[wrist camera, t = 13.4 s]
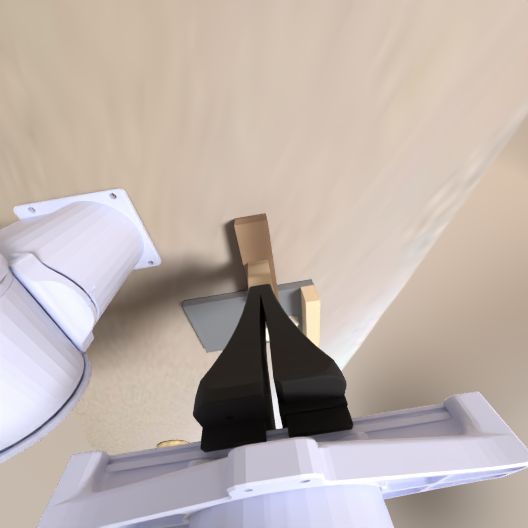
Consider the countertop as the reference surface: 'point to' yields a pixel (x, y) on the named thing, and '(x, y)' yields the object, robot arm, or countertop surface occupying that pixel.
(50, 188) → the countertop surface
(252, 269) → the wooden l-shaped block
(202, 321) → the board
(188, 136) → the countertop surface
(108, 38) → the countertop surface
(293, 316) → the tile
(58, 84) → the countertop surface
